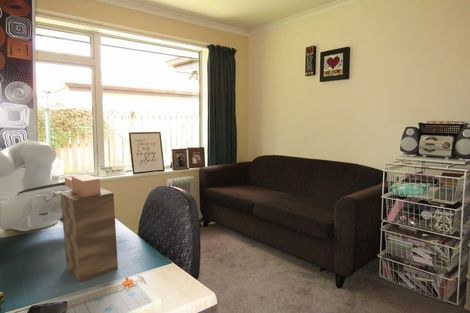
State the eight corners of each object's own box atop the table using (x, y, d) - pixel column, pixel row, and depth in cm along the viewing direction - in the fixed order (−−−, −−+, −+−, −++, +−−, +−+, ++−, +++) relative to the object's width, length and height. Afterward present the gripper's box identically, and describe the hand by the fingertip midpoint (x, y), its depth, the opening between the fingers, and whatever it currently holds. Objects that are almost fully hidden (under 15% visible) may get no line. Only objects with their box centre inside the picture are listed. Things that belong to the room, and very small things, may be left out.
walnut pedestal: (66, 268, 104) (60, 193, 100) (102, 256, 112) (97, 186, 108) (80, 282, 95) (74, 200, 92) (117, 268, 104) (113, 192, 100)
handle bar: (62, 186, 109) (61, 172, 108) (77, 184, 112) (76, 170, 112) (84, 197, 95) (83, 181, 94) (100, 193, 99) (99, 178, 98)
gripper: (87, 205, 129) (99, 194, 119) (30, 216, 114) (38, 204, 105) (84, 191, 130) (95, 179, 121) (26, 200, 115) (34, 187, 106)
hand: (68, 191), depth 113 cm, fingers open, 8 cm apart
